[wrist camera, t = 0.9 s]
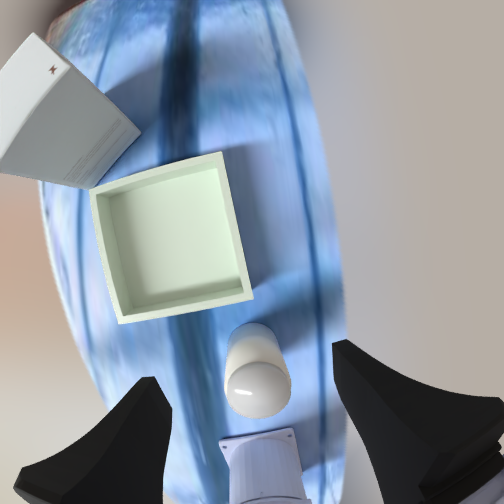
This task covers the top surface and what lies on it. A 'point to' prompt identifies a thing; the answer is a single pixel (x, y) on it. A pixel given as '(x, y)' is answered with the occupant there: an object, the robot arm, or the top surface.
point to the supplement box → (57, 120)
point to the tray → (170, 240)
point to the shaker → (256, 372)
